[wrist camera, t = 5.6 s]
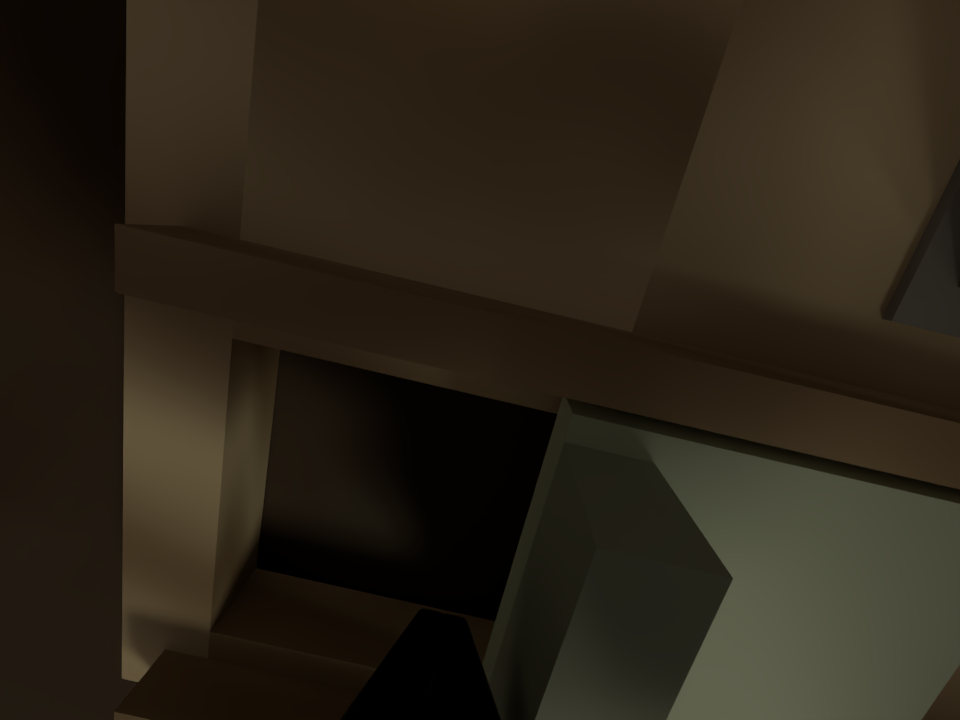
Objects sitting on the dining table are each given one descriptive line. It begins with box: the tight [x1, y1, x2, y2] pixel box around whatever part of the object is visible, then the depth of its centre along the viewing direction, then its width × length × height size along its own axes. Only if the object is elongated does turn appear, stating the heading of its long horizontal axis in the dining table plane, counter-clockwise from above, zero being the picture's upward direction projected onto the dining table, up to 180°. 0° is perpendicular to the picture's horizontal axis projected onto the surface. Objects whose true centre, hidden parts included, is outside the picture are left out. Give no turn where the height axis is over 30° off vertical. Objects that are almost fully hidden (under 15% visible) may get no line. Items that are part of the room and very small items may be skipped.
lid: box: [482, 397, 960, 720], centre depth 7 cm, size 8×8×4 cm
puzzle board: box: [114, 0, 960, 720], centre depth 8 cm, size 19×21×3 cm
